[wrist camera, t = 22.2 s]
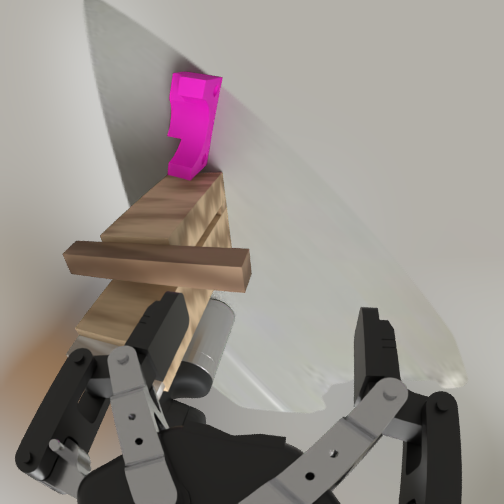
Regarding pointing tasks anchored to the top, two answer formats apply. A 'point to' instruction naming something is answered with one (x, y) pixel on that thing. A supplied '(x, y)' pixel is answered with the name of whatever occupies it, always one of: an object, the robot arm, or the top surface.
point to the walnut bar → (162, 264)
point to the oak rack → (162, 233)
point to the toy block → (192, 121)
